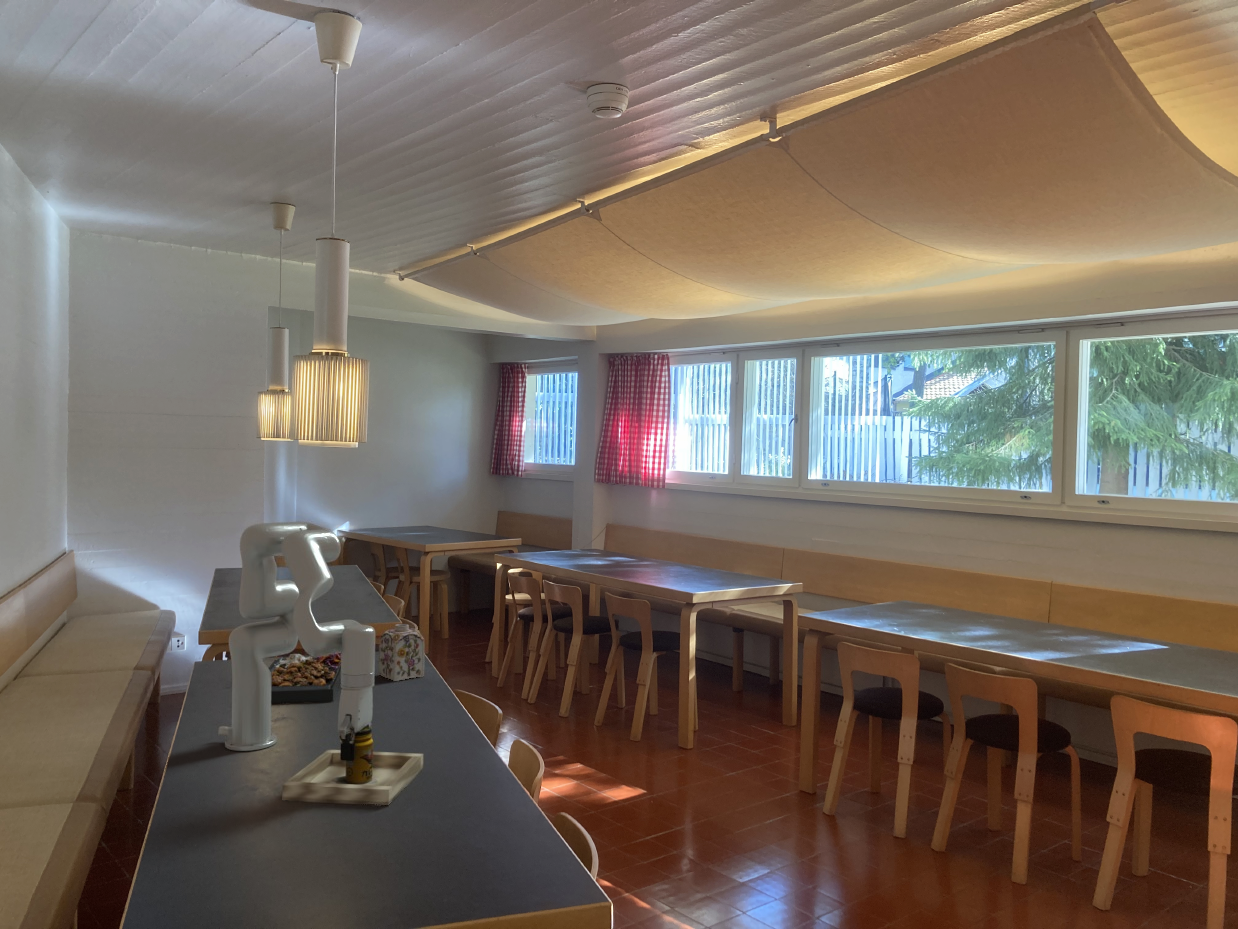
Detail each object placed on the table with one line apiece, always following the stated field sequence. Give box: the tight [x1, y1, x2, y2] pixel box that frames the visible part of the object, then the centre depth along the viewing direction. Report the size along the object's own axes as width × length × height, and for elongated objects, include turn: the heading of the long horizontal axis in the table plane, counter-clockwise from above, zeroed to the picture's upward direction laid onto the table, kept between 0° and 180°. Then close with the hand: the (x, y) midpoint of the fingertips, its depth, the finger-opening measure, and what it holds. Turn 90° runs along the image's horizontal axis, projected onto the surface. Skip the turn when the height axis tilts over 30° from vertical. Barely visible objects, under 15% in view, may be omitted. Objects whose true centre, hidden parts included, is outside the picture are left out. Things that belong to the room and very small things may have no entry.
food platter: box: [268, 653, 341, 705], centre depth 294 cm, size 45×25×10 cm, turn 12°
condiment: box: [333, 726, 378, 785], centre depth 205 cm, size 7×8×12 cm
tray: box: [281, 749, 424, 806], centre depth 205 cm, size 24×24×4 cm
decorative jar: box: [378, 623, 425, 682], centre depth 308 cm, size 12×12×18 cm
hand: (355, 753), depth 205 cm, fingers open, 9 cm apart
